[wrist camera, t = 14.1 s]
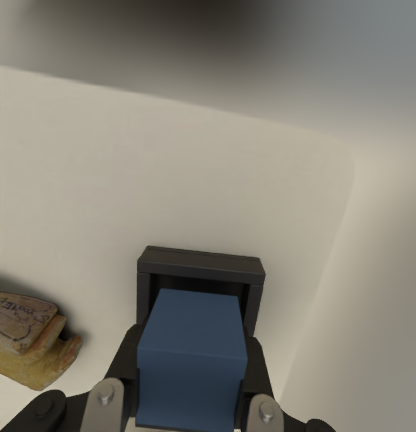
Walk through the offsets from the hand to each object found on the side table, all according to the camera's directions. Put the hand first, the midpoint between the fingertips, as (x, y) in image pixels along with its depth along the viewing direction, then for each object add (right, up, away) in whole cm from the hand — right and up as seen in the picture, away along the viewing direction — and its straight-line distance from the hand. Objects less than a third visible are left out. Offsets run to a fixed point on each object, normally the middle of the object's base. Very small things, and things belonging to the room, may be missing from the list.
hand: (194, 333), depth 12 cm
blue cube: (0, 0, +1) cm, 1 cm away
